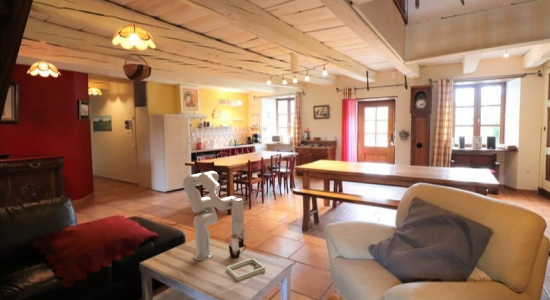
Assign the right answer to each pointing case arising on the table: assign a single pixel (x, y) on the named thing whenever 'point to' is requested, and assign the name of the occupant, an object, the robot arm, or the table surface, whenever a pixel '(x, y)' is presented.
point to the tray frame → (249, 261)
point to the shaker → (235, 243)
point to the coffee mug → (234, 253)
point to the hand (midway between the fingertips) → (239, 245)
